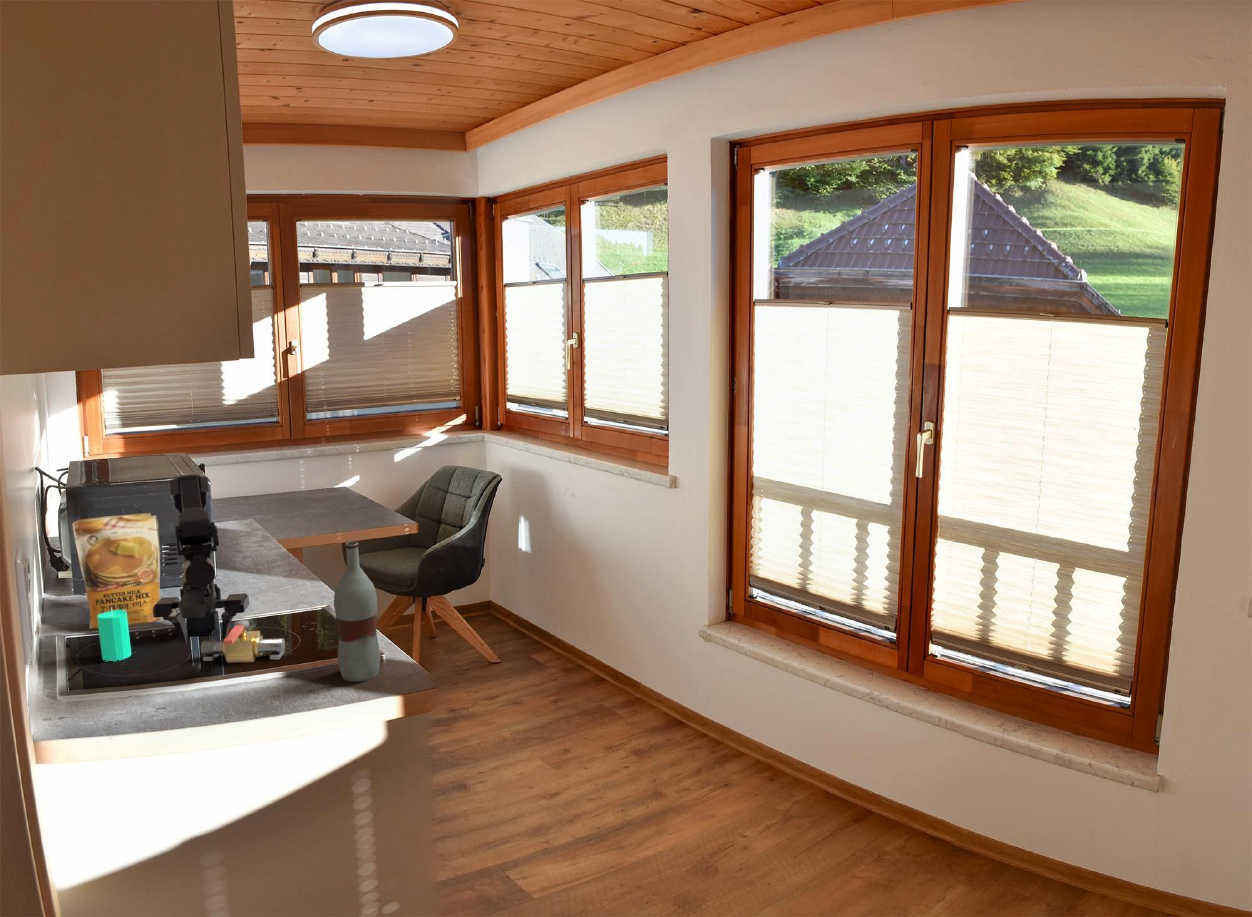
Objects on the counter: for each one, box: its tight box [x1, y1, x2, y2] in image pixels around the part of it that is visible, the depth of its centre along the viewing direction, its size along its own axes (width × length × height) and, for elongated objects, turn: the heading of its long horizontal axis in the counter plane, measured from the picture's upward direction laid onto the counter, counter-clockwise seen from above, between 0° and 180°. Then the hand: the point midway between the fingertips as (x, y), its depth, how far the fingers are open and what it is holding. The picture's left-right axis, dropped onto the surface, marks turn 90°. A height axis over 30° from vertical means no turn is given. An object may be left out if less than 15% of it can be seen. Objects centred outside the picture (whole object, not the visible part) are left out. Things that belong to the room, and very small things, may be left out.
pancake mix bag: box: [70, 512, 163, 630], centre depth 240 cm, size 7×19×28 cm, turn 115°
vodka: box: [333, 541, 382, 683], centre depth 207 cm, size 9×9×30 cm
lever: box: [224, 619, 250, 644], centre depth 214 cm, size 12×3×1 cm, turn 7°
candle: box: [97, 607, 132, 662], centre depth 220 cm, size 6×6×12 cm
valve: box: [200, 628, 286, 664], centre depth 219 cm, size 18×6×7 cm, turn 94°
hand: (205, 642), depth 210 cm, fingers open, 8 cm apart
